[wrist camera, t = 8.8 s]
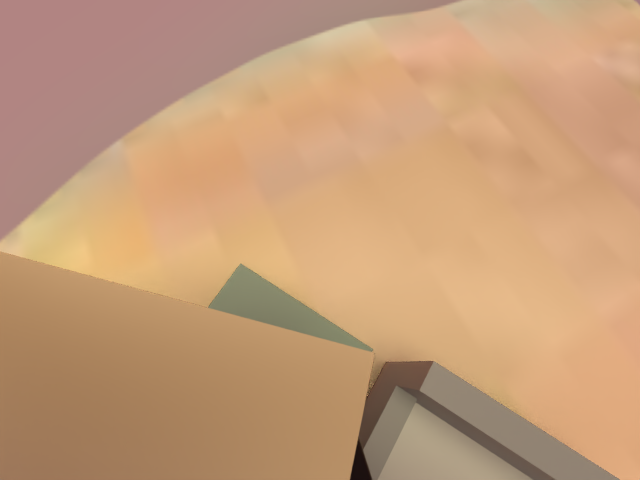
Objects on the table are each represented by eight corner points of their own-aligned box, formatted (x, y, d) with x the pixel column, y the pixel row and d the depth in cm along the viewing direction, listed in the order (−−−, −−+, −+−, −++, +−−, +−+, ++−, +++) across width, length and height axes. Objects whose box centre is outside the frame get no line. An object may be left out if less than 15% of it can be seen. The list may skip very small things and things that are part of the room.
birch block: (287, 501, 12) (233, 1069, 2) (154, 463, 12) (-409, 854, 2) (321, 359, 13) (374, 352, 4) (203, 327, 13) (-33, 241, 4)
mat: (281, 510, 14) (281, 515, 14) (139, 404, 15) (135, 406, 14) (371, 349, 16) (373, 349, 16) (241, 265, 17) (240, 263, 17)
